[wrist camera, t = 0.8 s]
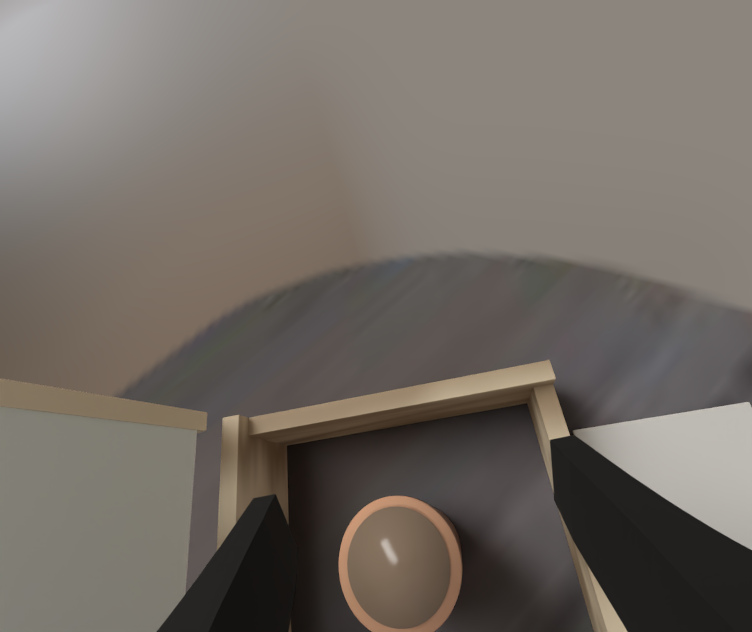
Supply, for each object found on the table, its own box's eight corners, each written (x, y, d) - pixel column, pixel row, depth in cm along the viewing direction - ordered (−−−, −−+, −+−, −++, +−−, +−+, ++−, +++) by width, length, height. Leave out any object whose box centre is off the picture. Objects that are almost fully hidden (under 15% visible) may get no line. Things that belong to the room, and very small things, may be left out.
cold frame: (647, 731, 18) (712, 828, 13) (276, 744, 21) (204, 826, 16) (539, 384, 25) (552, 353, 20) (273, 433, 28) (223, 417, 23)
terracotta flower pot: (478, 602, 21) (474, 637, 16) (378, 611, 22) (343, 647, 17) (456, 490, 24) (446, 487, 18) (367, 503, 25) (333, 504, 19)
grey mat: (882, 659, 17) (888, 661, 17) (652, 672, 19) (654, 675, 18) (745, 403, 22) (748, 401, 22) (572, 431, 23) (573, 430, 23)
